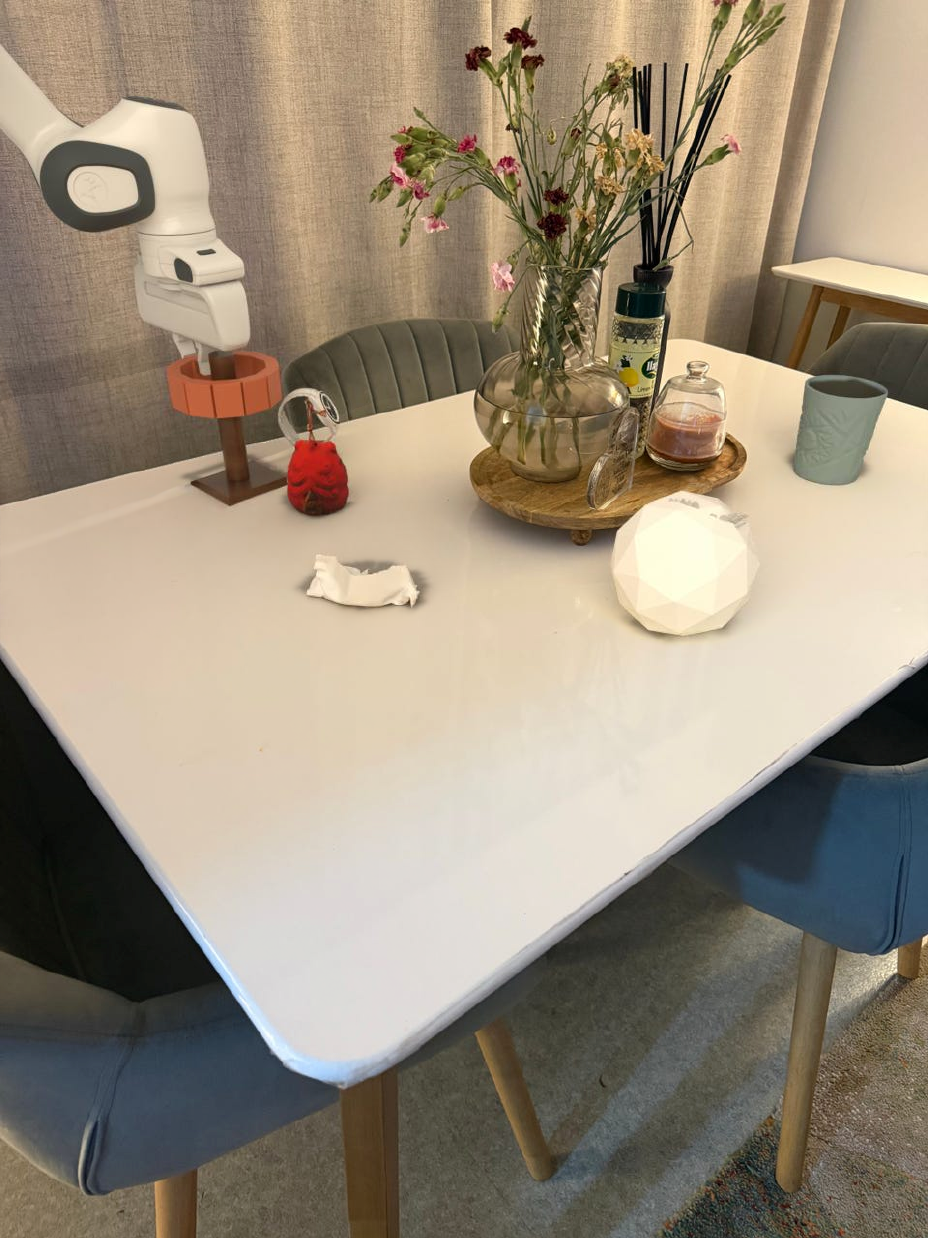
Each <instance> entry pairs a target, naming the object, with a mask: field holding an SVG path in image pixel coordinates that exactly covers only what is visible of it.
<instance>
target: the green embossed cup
mask: <svg viewBox="0 0 928 1238" xmlns="http://www.w3.org/2000/svg"><path fill="white" fill-rule="evenodd" d="M888 393H889V390H888V388H887V387H885V386H884V385H882V384H880V383H878V382H876V381H873V380H869V379H866V378H861V377H856V376H852V375H842V374H823V375H816V376H812V377H809V378H808V379H806V380H805V382H804V389H803V395H802V405H801V414H800V417H799V423H798V430H797V436H796V443H795V450H794V455H793V461H792V469H793V472H794V473H795V474H796V475H797V476H798V477H800V478H802V479H805V480H807V481H809V482H812V483H817V484H821V485H822V484H823V485H830V486H840V485H841V486H842V485H843V486H844V485H849V484H852V483H854V482H856V480H858V477H859V476H860V473H861V470H862V467H863V464H864V457H865V456H866V455H867V452H868V450H869V447H870V443H871V441H872V439H873V436H874V432H875V431H874V430H875V429H876V426H877V422H878V421H879V416H880V415H881V414H882V413H881V412H882V411H883V408H884V405H885V403H886V400H887V397H888V395H889V394H888Z"/></svg>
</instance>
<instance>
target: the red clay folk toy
mask: <svg viewBox="0 0 928 1238" xmlns="http://www.w3.org/2000/svg"><path fill="white" fill-rule="evenodd" d="M303 402H304V404H305V405H306V415H307V422H308V424H307V425H306V430H307V432H309V435H308V440H309V441H304V440H305V439H300V440H299V441H297V442H296V443H295V446H293V447H294V450H295V451H294V450H293V452H294V453H293V452H292V454H293V455H291V457H290V460H289V463H288V466H287V474H286V476H287V484H288V485H286V486H287V487H286V493H287V494H286V495H287V498H288V500H289V502H290V504H291V506H292V507H293V508H294V509H295V510H296V511H298V512H299V513H301V514H303V515H306V516H311V517H320V516H328V515H331V514H334V513H336V512H338V511H341V510H342V509H343V508H344V506H345V505H346V503H347V502H348V498H349V495H350V489H349V485H348V484H349V476H348V470H347V466H346V465H345V463H344V462H343V459H342V457H341V456H340V455H339V454H338V450H337V446H336V444H335V443H334V442H333V441H332V442H331V441H327V440H326V441H327V442H319V441H316V436H315V435H314V432H313V430H314V425H313V414H315V415H317V414H319V415H321V416H323V417H327V414H326V412H327V411H326V410H321V411H319V410H314V408H313V404H312V403H310V401H309V399H308V398H306V399H305V400H303Z"/></svg>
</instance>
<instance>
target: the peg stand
mask: <svg viewBox="0 0 928 1238" xmlns="http://www.w3.org/2000/svg"><path fill="white" fill-rule="evenodd" d="M233 352H234V351H233ZM233 352H231V351H227V352H225V351H221V350H216V351H214V352H211V353H209V354H208V359H209V365H210V372H211V379H212V381H220V380H233V379H237V376H236V369H235V361H234V354H233ZM217 424H218V430H219V431H218V432H219V438H220V445H221V451H222V458H223V463H224V470H221V471H218V472H215V473H213V474H209V475H206V476H204V477H200V478H197V479H194V480H192V481H190V485H191V486H192V487H194V488H195V489H198V490H200V491H202V492H204V494H207V495H209V496H210V497H213V498H215V499H216V500H218V501H220V502H222V503H224V504H225V505H227V506H229V507H230V506H233V505H236V504H238V503H241V502H243V501H246V500H249V499H252V498H255V497H257V496H261V495H263V494H266V493H268V492H271V491H274V490H277V489H280V488H282V487H286V486H287V485H288V480H287V475H284V474H282V473H280V472H278V471H277V470H274V469H272V468H270V467H268V466H266V465H264V464H261V463H260V462H258V461H256V460H252V461H249V459H248V452H247V451H248V450H247V444H246V437H245V429H244V422H243V416H238V417H227V418H217Z"/></svg>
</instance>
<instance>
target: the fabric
mask: <svg viewBox="0 0 928 1238" xmlns="http://www.w3.org/2000/svg"><path fill="white" fill-rule="evenodd" d="M313 570H316V573H315V577H314V578H313V579H312V581H311V583H310V587H309V588H308V589H307V590H306V594H305V596H307V597H309V596H310V597H314V598H324V599H325V600H328V601H331V602H334V603H337V604H341V605H345V606H357V607H359V606H360V607H370V608H371V607H383V606H387V605H389V604H392V605H394V606H404V605H406V604H407V603H408V602H409V603H410V607H411V609H413V608H414V605H415V604H416V602H417V600H418V597H419V594H420V590H418V589H417V587H418V584H415V582H414V580H413V577H412V575H411V572H410V569H409V567H408V566H407V565H406V564H403V565H400V564H399V565H391V566H390V567H389V568H387V569H383V570H380V571H378V572H373V573H369V571H370V570H371V568H370V567H367V569H365V570H364V571H362V572H361V570H360V569H358V568H357V567H354V566H353V567H352V566H348V565H343V564H342V563H341V562H340V561H339V559H338V557H336V555H326V554H325V555H324V554H320V553H317V554H315V563H314V566H313Z"/></svg>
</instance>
